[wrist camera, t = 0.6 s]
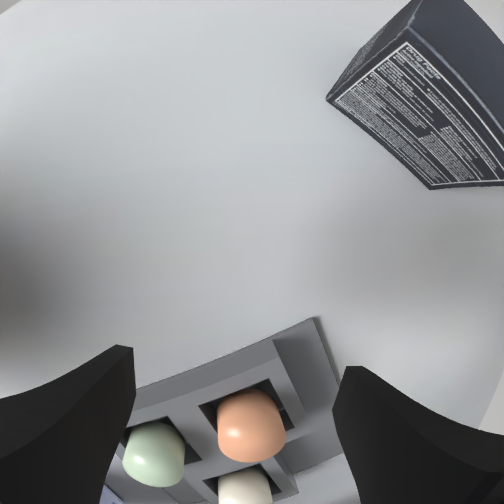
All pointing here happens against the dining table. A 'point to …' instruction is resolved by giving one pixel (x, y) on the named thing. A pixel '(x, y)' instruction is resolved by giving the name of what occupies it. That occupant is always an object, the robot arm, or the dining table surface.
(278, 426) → the peach rounded dome
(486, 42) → the small box
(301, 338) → the panel
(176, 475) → the sage button
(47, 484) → the robot arm
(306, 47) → the dining table surface
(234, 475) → the cream button
